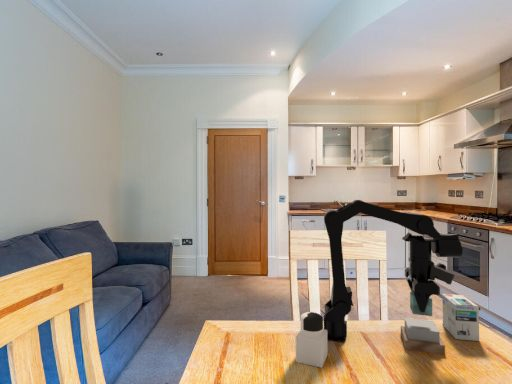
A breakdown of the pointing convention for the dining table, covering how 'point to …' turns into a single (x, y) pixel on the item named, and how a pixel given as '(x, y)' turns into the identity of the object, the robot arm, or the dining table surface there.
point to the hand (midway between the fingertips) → (420, 308)
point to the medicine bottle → (311, 340)
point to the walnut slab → (422, 344)
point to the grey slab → (422, 330)
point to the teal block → (416, 309)
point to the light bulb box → (461, 317)
